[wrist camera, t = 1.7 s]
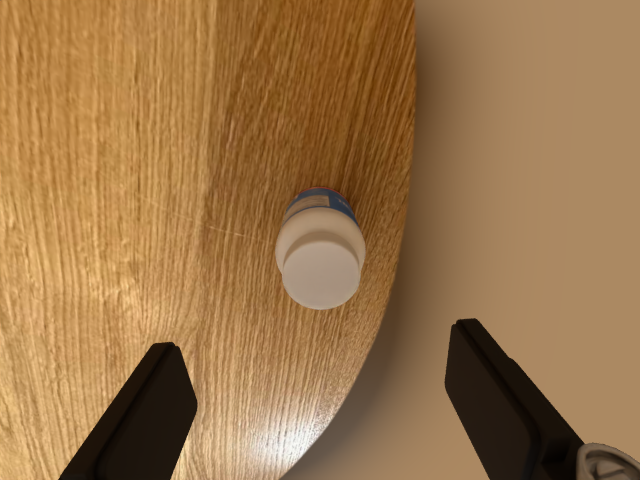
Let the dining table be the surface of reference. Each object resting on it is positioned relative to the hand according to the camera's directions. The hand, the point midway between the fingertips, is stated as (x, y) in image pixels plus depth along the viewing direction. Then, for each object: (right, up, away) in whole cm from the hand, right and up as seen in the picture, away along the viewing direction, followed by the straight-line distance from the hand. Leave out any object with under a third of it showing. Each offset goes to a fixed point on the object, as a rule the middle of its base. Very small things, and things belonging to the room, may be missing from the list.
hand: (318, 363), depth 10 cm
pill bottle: (0, +6, +14) cm, 15 cm away
